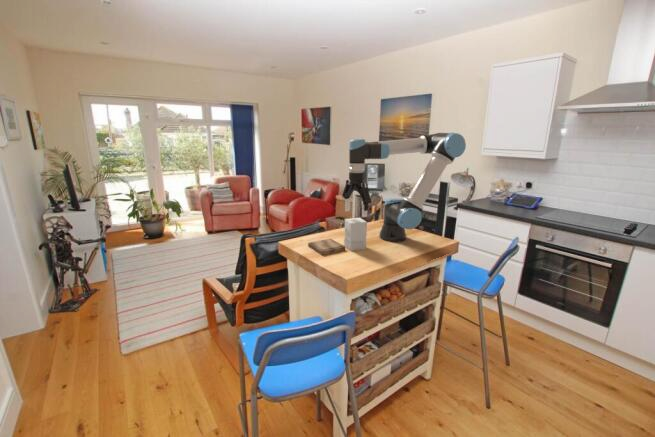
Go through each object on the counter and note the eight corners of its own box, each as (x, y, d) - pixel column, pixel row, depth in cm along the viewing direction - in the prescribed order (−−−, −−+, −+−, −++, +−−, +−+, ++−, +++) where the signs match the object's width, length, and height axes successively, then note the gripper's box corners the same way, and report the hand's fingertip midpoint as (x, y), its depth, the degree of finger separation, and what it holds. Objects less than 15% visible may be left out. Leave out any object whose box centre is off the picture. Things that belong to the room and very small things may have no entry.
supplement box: (359, 243, 169) (360, 217, 165) (366, 249, 161) (367, 221, 157) (343, 245, 166) (344, 218, 162) (350, 251, 158) (351, 223, 154)
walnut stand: (330, 242, 170) (330, 238, 170) (345, 250, 159) (345, 245, 158) (308, 246, 163) (308, 242, 163) (321, 255, 152) (321, 250, 151)
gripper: (335, 169, 159) (335, 209, 164) (367, 175, 139) (366, 220, 144) (347, 168, 163) (346, 207, 168) (380, 174, 143) (378, 218, 148)
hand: (355, 213), depth 156 cm, fingers open, 13 cm apart
